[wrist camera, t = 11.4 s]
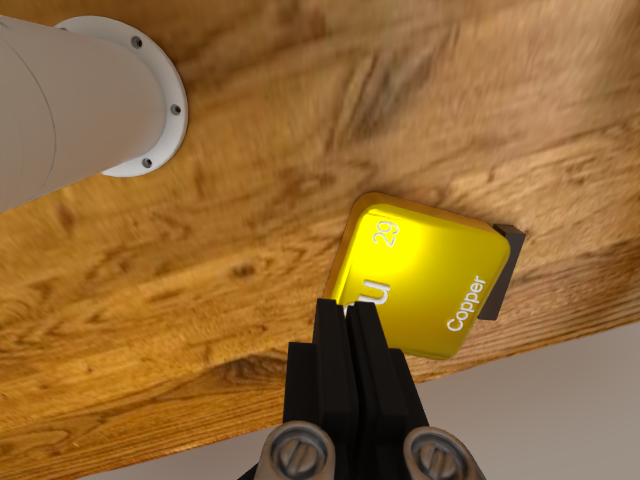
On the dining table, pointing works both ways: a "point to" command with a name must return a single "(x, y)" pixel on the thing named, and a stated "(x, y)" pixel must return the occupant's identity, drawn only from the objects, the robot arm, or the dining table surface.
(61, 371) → the dining table surface
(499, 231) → the walnut ledge
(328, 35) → the dining table surface
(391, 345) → the element tile
